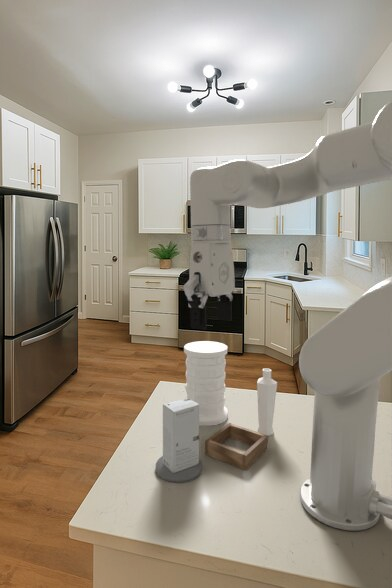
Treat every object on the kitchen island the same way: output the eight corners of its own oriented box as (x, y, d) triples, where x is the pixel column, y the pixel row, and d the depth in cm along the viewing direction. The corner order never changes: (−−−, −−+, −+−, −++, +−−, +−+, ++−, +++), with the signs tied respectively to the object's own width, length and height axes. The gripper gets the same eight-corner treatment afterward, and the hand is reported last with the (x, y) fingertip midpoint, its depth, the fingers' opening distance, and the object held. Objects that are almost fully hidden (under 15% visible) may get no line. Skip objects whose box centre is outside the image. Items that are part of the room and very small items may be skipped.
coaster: (211, 465, 75) (211, 461, 75) (182, 489, 68) (182, 484, 68) (175, 450, 80) (175, 447, 80) (145, 471, 73) (145, 467, 73)
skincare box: (173, 474, 71) (173, 412, 69) (161, 463, 74) (161, 404, 73) (200, 463, 74) (200, 404, 72) (187, 453, 78) (187, 396, 76)
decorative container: (176, 422, 93) (176, 351, 90) (189, 403, 104) (189, 339, 101) (223, 428, 90) (225, 354, 87) (231, 408, 101) (232, 342, 99)
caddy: (267, 448, 81) (268, 435, 81) (245, 470, 73) (246, 455, 73) (229, 435, 87) (229, 422, 86) (205, 453, 79) (205, 440, 79)
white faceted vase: (251, 428, 90) (252, 367, 88) (267, 426, 91) (269, 365, 89) (260, 438, 85) (262, 374, 83) (277, 435, 87) (279, 372, 85)
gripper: (203, 234, 63) (205, 335, 65) (248, 236, 78) (248, 318, 80) (167, 235, 67) (170, 330, 69) (216, 237, 82) (217, 315, 84)
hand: (212, 324), depth 74 cm, fingers open, 9 cm apart
